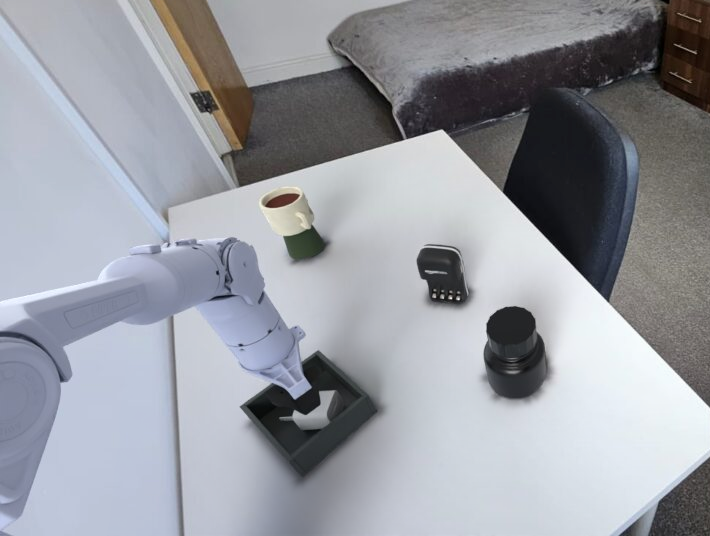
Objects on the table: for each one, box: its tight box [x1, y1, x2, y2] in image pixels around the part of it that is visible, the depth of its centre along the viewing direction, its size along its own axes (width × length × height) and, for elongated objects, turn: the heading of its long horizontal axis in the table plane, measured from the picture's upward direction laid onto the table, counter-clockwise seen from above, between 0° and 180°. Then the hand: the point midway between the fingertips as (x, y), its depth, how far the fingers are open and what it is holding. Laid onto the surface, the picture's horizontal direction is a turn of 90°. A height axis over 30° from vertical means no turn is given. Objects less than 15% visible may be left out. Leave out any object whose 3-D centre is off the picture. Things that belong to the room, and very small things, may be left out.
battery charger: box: [416, 243, 470, 305], centre depth 79 cm, size 7×4×11 cm, turn 84°
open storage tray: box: [239, 349, 378, 478], centre depth 65 cm, size 11×12×4 cm
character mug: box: [258, 185, 326, 260], centre depth 87 cm, size 11×7×13 cm, turn 59°
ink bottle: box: [482, 305, 548, 400], centre depth 68 cm, size 10×9×12 cm
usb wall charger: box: [279, 390, 344, 430], centre depth 64 cm, size 4×7×4 cm, turn 94°
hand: (297, 390), depth 61 cm, fingers open, 7 cm apart
